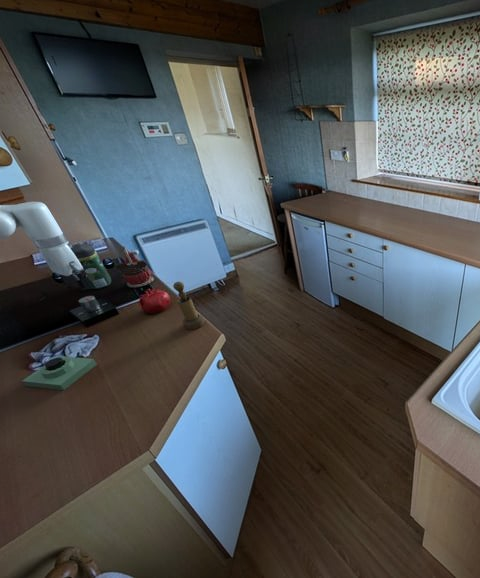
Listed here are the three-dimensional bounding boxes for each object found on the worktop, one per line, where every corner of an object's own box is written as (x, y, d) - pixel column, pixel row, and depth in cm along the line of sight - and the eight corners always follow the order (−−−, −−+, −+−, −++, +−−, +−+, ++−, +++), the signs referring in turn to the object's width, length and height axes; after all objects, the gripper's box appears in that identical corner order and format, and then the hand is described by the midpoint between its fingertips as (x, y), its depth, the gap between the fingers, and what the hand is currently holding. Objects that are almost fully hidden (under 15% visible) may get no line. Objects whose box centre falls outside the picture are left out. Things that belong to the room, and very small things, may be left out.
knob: (82, 310, 109) (76, 299, 107) (97, 304, 113) (91, 293, 110) (87, 313, 107) (80, 303, 105) (102, 307, 111) (96, 297, 108)
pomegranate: (176, 299, 121) (168, 280, 116) (168, 313, 113) (159, 293, 108) (148, 303, 119) (139, 283, 114) (138, 317, 111) (127, 297, 106)
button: (44, 370, 84) (40, 365, 83) (57, 361, 87) (54, 356, 86) (55, 371, 83) (52, 367, 82) (68, 362, 86) (65, 357, 85)
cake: (123, 290, 127) (103, 252, 117) (130, 280, 134) (111, 244, 125) (153, 286, 130) (135, 248, 121) (157, 276, 138) (141, 240, 128)
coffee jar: (90, 282, 132) (67, 244, 122) (112, 277, 136) (92, 240, 126) (88, 292, 125) (63, 252, 116) (111, 286, 129) (90, 248, 120)
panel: (73, 317, 111) (69, 310, 109) (105, 304, 118) (101, 297, 116) (86, 327, 105) (82, 320, 104) (119, 313, 113) (115, 307, 111)
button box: (26, 386, 83) (17, 376, 81) (62, 360, 92) (55, 351, 90) (64, 390, 82) (56, 380, 80) (97, 364, 91) (91, 354, 89)
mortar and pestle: (180, 327, 106) (161, 285, 97) (195, 317, 111) (179, 276, 102) (193, 331, 104) (175, 289, 95) (208, 321, 109) (193, 280, 100)
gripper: (20, 241, 95) (52, 286, 104) (51, 249, 90) (81, 295, 99) (49, 233, 101) (77, 276, 110) (80, 241, 96) (106, 285, 105)
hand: (79, 285), depth 105 cm, fingers open, 9 cm apart
